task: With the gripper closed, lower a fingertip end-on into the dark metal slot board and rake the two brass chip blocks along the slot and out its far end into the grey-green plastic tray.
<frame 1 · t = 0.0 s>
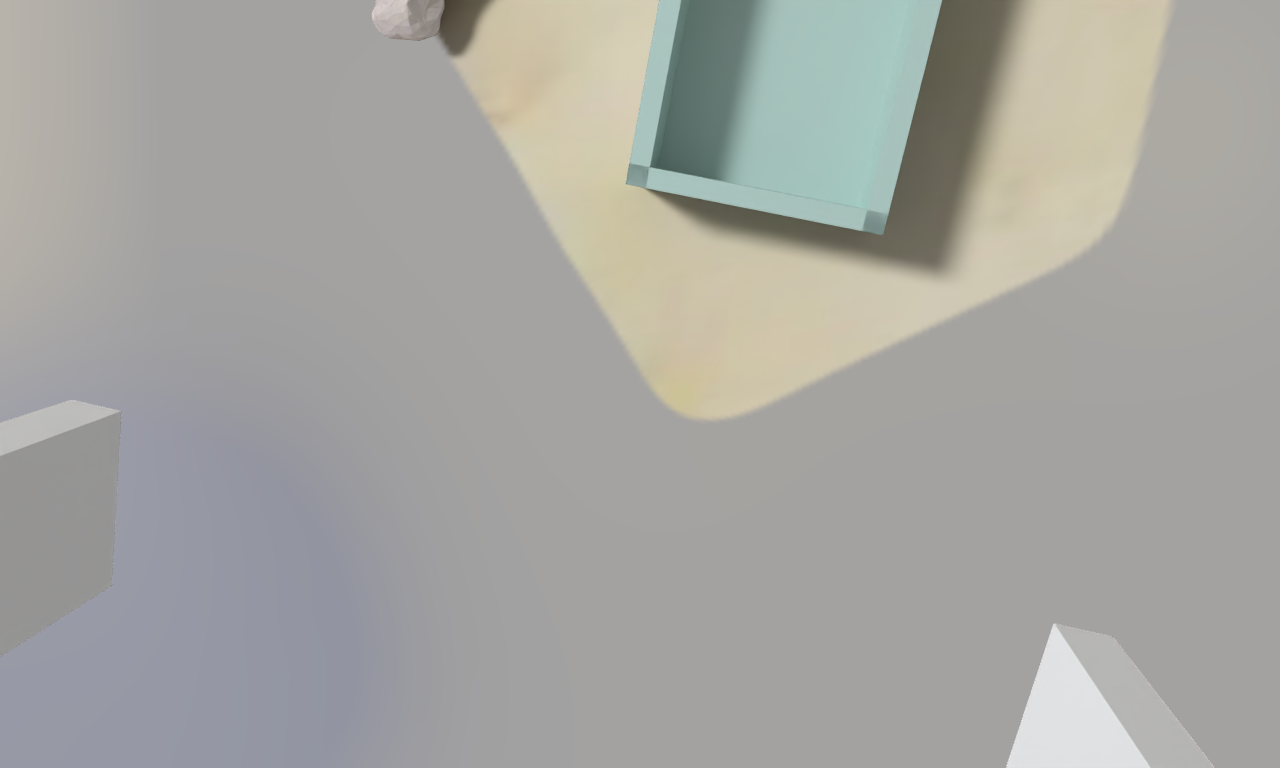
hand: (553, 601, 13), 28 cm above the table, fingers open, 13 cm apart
tray: (784, 60, 37), on the table
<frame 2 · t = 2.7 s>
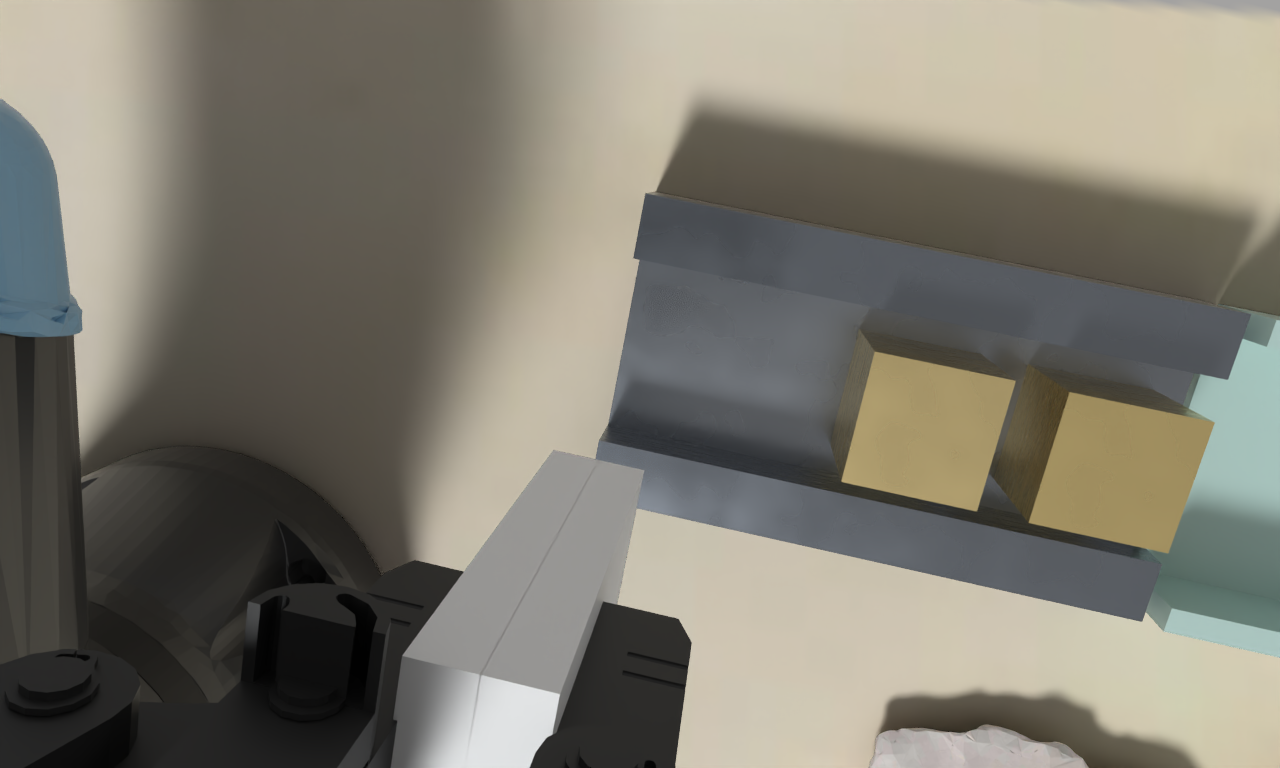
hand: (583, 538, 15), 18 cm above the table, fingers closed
chip a: (904, 399, 30), point 1 cm above the table, touching slot board
chip b: (1072, 435, 30), point 1 cm above the table, touching slot board
slot board: (885, 389, 31), on the table
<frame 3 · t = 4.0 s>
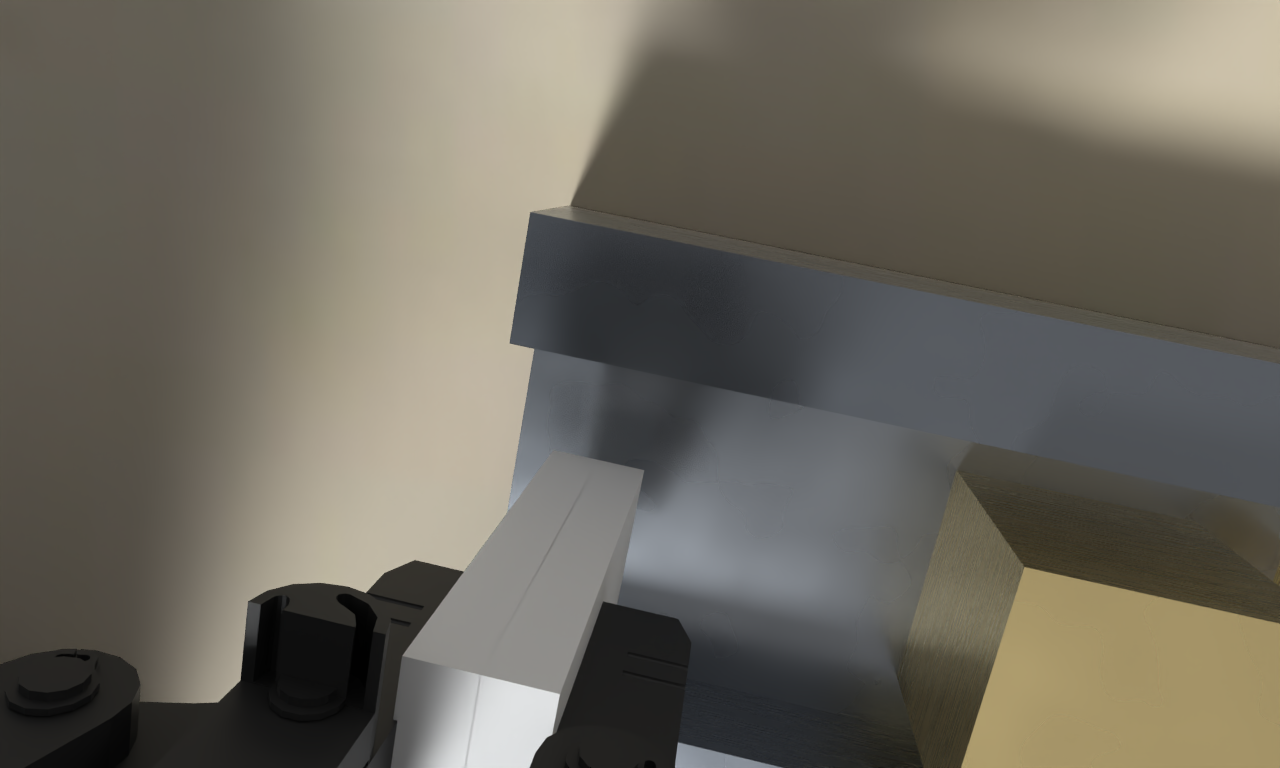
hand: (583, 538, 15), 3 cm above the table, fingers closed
chip a: (1040, 602, 16), point 1 cm above the table, touching slot board
slot board: (996, 571, 17), on the table
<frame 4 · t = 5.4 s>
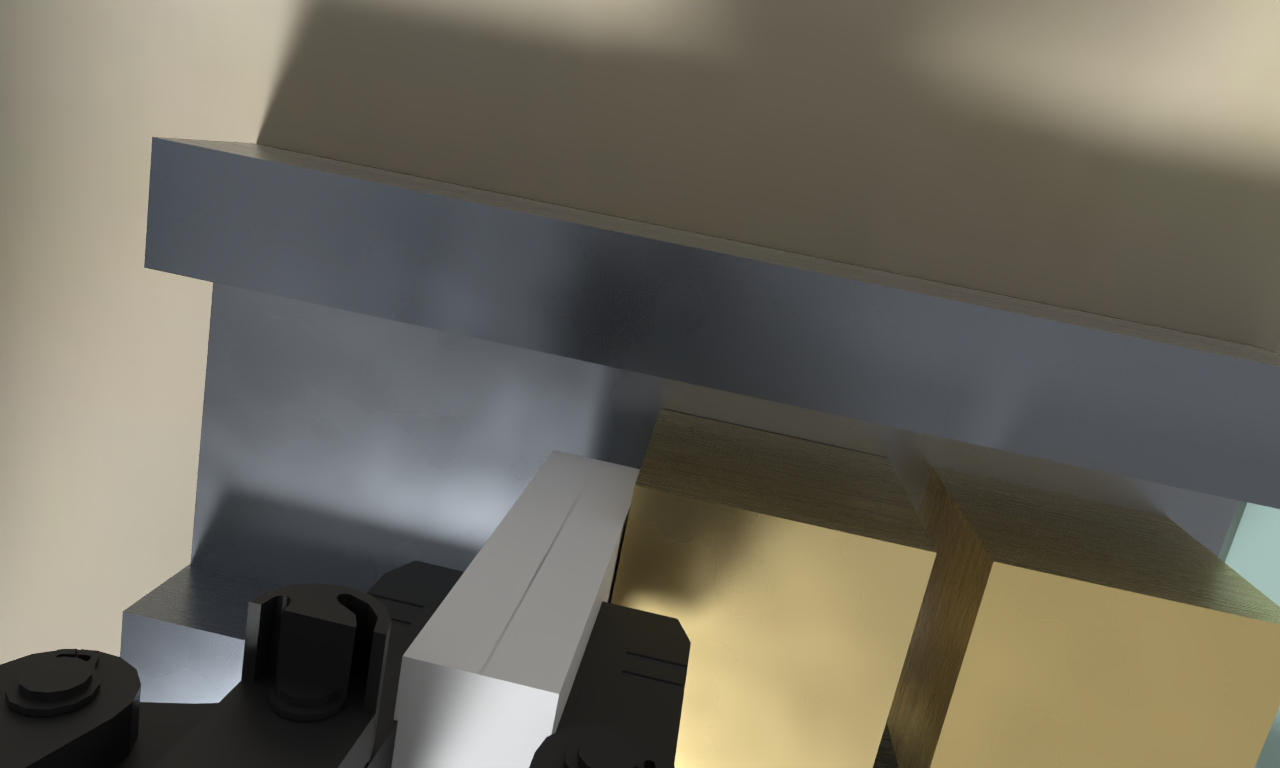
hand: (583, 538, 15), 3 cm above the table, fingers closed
chip a: (748, 538, 16), point 1 cm above the table
chip b: (1015, 597, 16), point 1 cm above the table, touching slot board
slot board: (682, 503, 17), on the table
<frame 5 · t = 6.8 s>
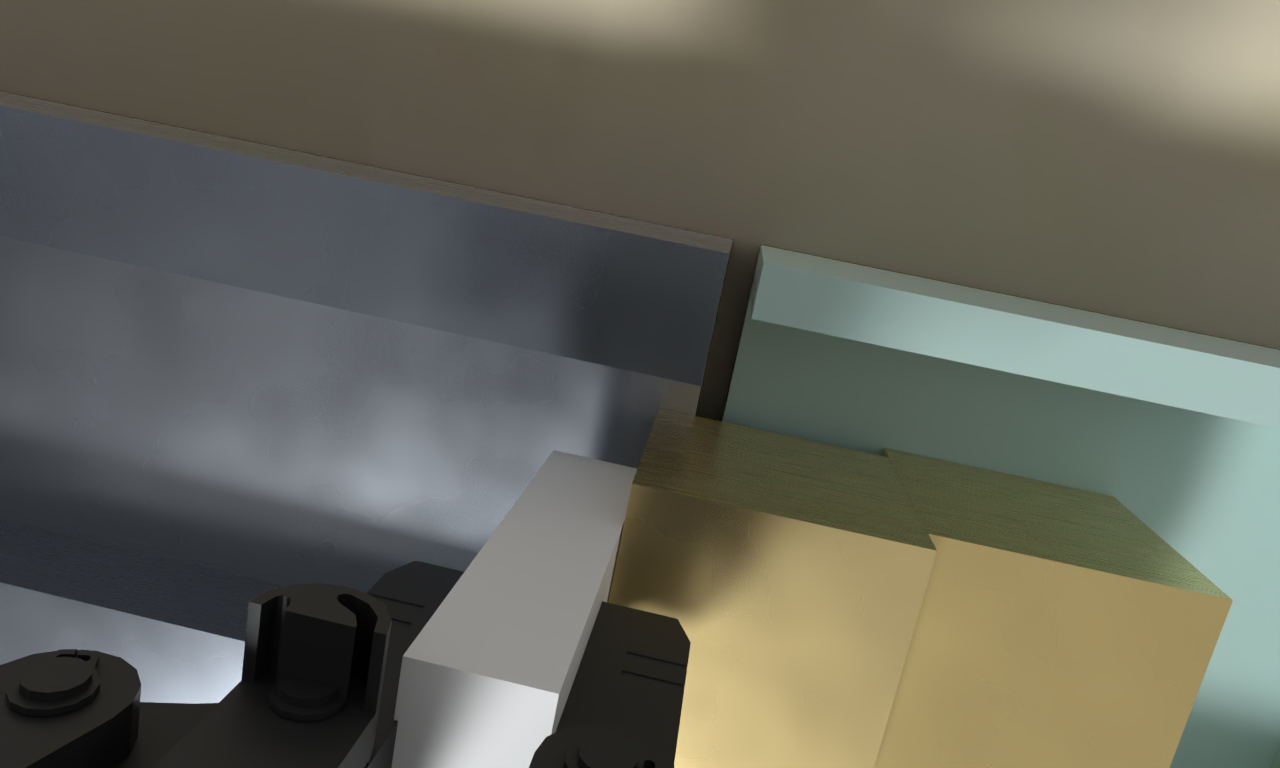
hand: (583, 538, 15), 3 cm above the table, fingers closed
chip a: (748, 539, 16), point 1 cm above the table, touching chip b, gripper
chip b: (966, 575, 17), resting on tray, touching chip a
slot board: (224, 401, 18), on the table
tray: (1018, 578, 17), on the table
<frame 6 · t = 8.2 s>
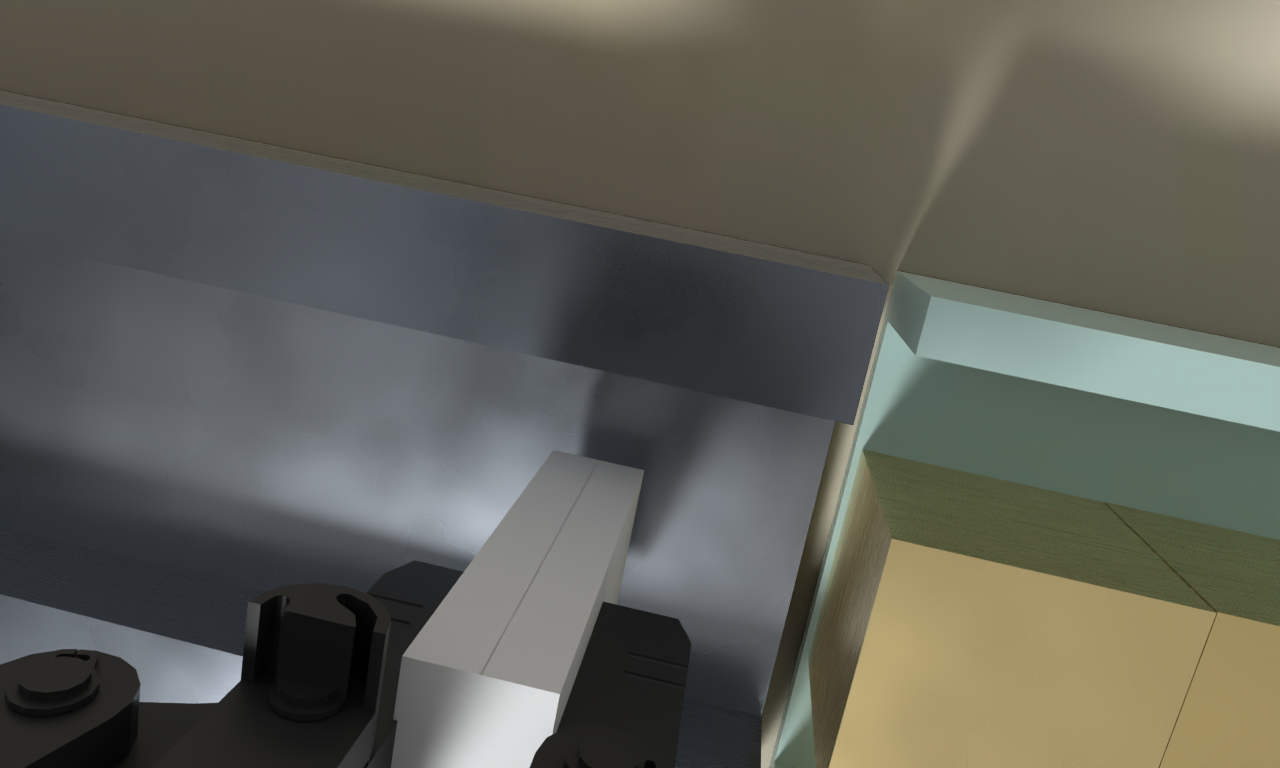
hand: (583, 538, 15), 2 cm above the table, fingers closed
chip a: (949, 583, 16), resting on tray
chip b: (1189, 638, 15), resting on tray
slot board: (325, 430, 17), on the table
tray: (1165, 624, 16), on the table
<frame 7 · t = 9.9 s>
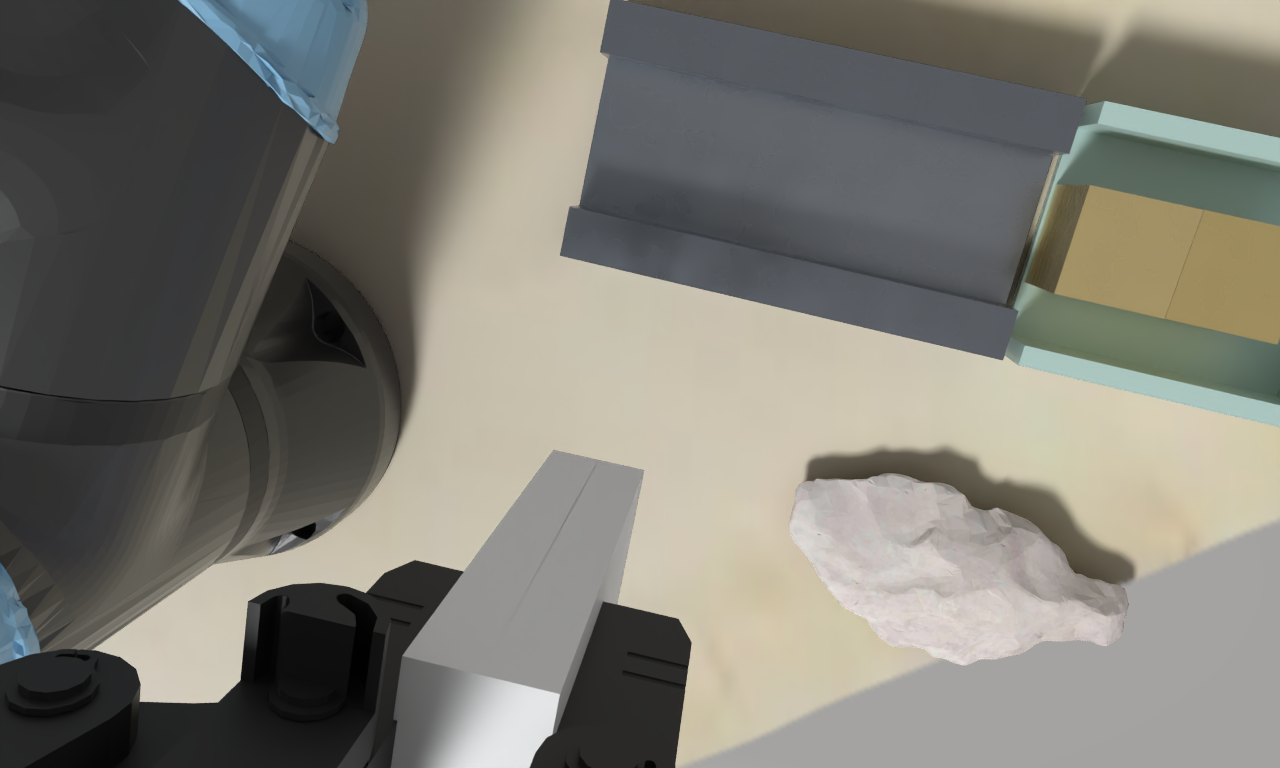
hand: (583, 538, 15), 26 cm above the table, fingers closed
chip a: (1089, 245, 37), resting on tray
chip b: (1191, 267, 37), resting on tray
stone tool: (946, 562, 42), on the table
slot board: (806, 181, 38), on the table
tray: (1180, 265, 37), on the table
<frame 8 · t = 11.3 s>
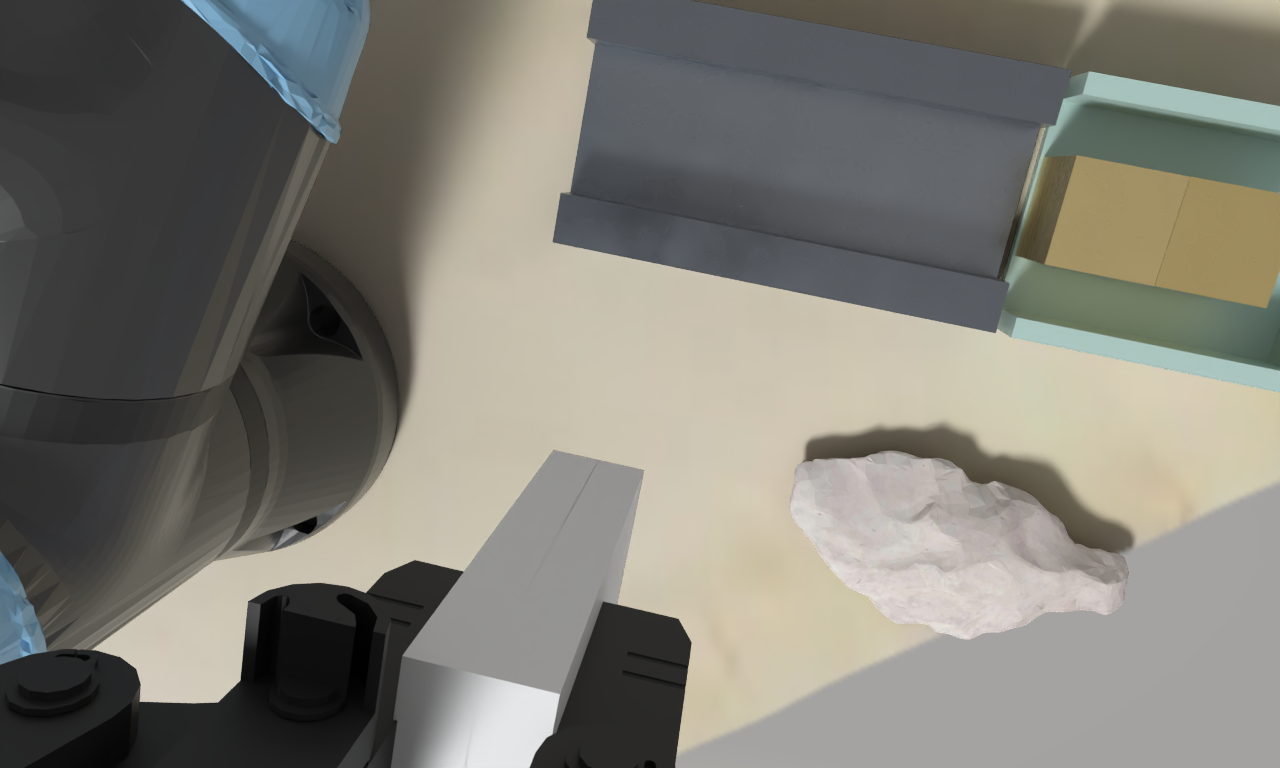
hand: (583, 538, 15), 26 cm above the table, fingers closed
chip a: (1078, 216, 37), resting on tray
chip b: (1179, 235, 37), resting on tray
stone tool: (946, 538, 42), on the table
slot board: (795, 161, 39), on the table
tray: (1169, 234, 37), on the table
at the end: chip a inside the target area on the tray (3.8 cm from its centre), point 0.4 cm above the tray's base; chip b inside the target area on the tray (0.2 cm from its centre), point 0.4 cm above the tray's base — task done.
